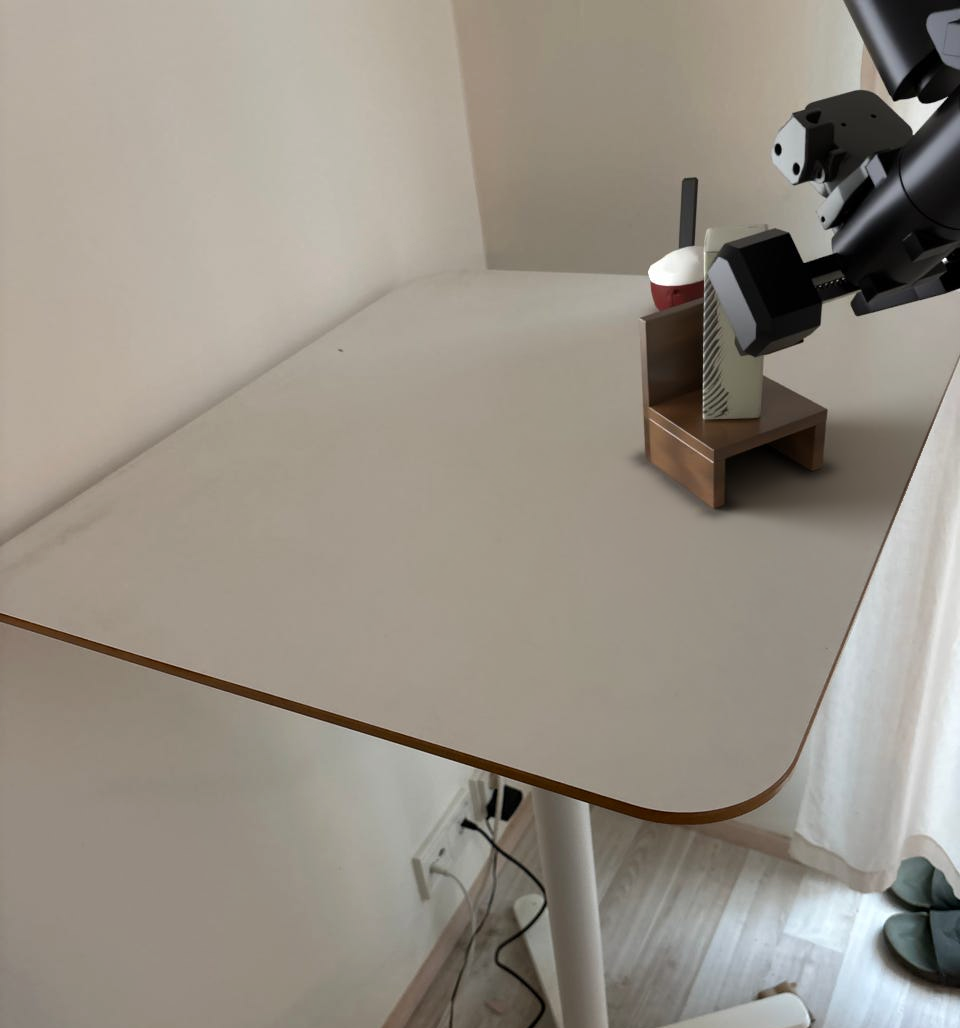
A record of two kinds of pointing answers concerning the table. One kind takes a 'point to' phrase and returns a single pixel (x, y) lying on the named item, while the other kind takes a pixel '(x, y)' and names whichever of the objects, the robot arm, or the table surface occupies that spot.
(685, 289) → the cocoa
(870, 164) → the robot arm
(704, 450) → the wooden doll chair
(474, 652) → the table surface
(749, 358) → the box
